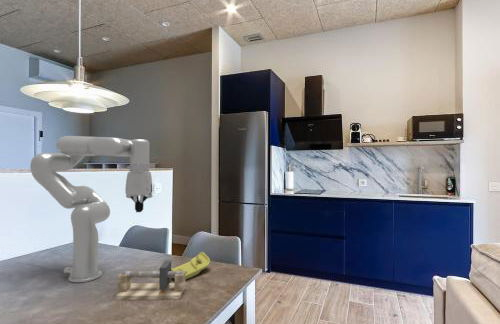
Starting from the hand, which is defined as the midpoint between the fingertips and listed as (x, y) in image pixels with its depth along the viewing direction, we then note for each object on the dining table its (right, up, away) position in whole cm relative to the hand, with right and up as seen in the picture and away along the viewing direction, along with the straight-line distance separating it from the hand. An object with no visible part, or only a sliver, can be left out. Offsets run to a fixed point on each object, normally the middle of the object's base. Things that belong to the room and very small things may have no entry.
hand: (139, 211), depth 122 cm
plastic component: (+19, -30, +8) cm, 36 cm away
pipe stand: (+10, -29, -12) cm, 33 cm away
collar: (+15, -26, -12) cm, 32 cm away
